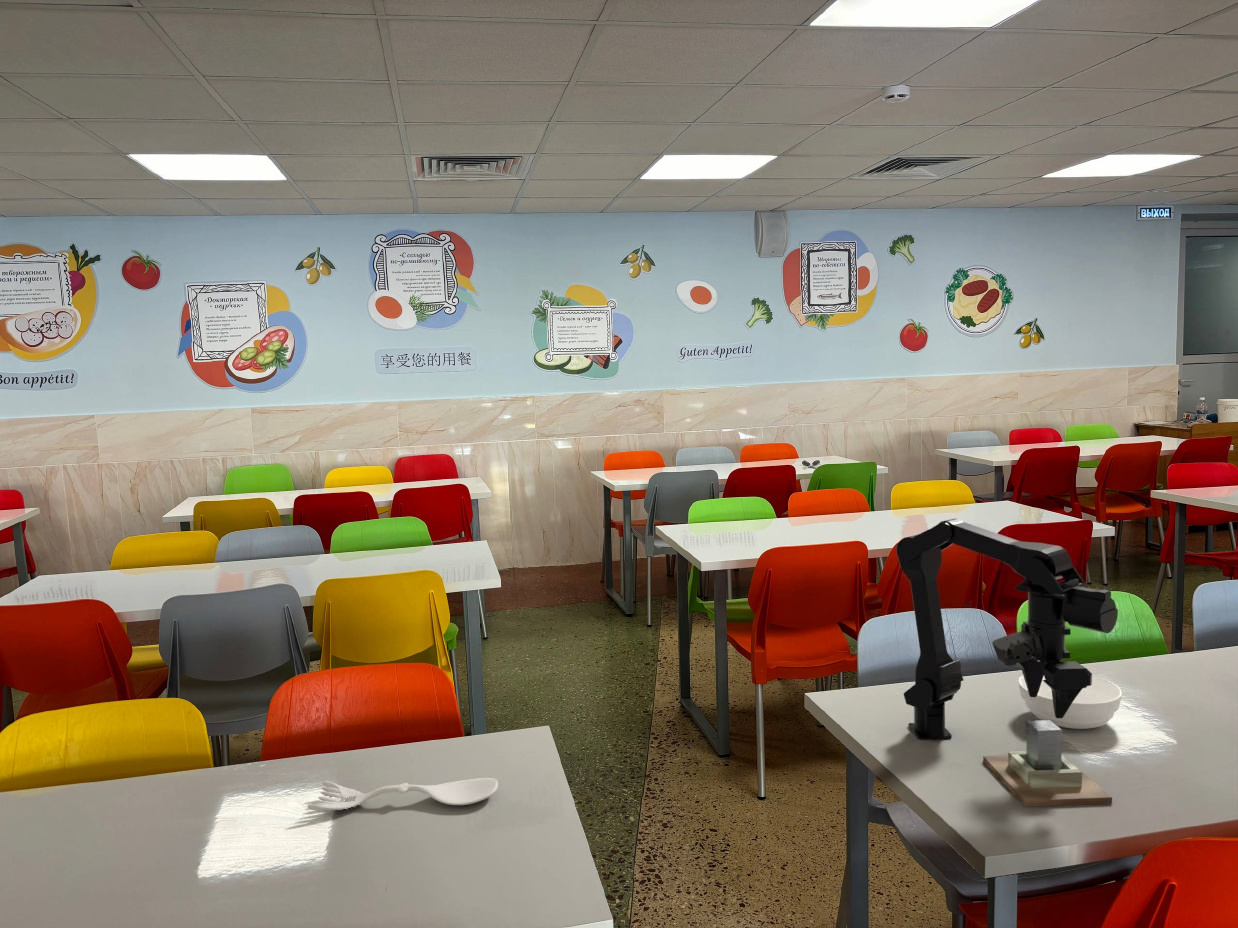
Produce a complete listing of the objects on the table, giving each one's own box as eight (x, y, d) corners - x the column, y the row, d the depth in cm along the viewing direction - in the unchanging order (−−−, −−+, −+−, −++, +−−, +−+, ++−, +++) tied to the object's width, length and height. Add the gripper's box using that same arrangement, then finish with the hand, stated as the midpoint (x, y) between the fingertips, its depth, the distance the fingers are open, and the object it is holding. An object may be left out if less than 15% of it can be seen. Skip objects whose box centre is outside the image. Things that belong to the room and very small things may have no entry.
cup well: (983, 761, 150) (983, 742, 149) (1060, 757, 149) (1060, 739, 149) (1025, 806, 134) (1025, 785, 133) (1112, 802, 133) (1112, 782, 133)
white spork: (324, 796, 149) (322, 778, 148) (501, 785, 150) (500, 767, 150) (307, 823, 140) (306, 803, 140) (495, 810, 141) (494, 791, 141)
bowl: (1122, 711, 168) (1123, 677, 167) (1120, 747, 153) (1121, 709, 152) (1023, 697, 178) (1023, 664, 177) (1012, 729, 162) (1012, 693, 162)
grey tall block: (1026, 770, 144) (1026, 720, 143) (1049, 769, 143) (1049, 719, 143) (1037, 781, 140) (1037, 730, 139) (1061, 780, 139) (1061, 729, 139)
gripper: (976, 606, 150) (976, 688, 152) (1024, 638, 132) (1023, 731, 133) (1038, 604, 150) (1037, 686, 152) (1094, 635, 131) (1093, 729, 133)
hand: (1045, 706), depth 142 cm, fingers open, 9 cm apart
